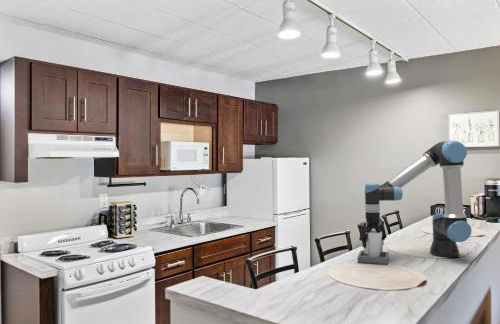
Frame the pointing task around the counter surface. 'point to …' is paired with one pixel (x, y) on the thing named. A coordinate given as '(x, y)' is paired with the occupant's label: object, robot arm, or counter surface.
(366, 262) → the bin
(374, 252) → the foam cup
